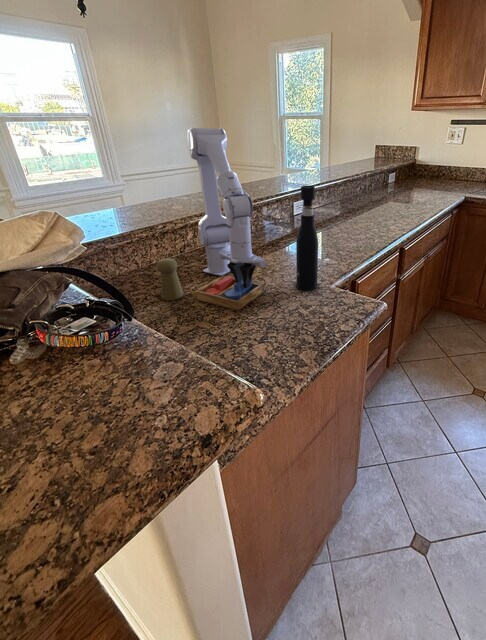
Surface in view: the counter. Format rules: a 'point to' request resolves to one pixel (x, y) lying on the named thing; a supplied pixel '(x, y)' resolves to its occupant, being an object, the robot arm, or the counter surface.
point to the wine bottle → (307, 244)
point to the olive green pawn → (169, 280)
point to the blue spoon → (237, 291)
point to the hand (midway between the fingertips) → (243, 285)
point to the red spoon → (221, 285)
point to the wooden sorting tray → (227, 302)
